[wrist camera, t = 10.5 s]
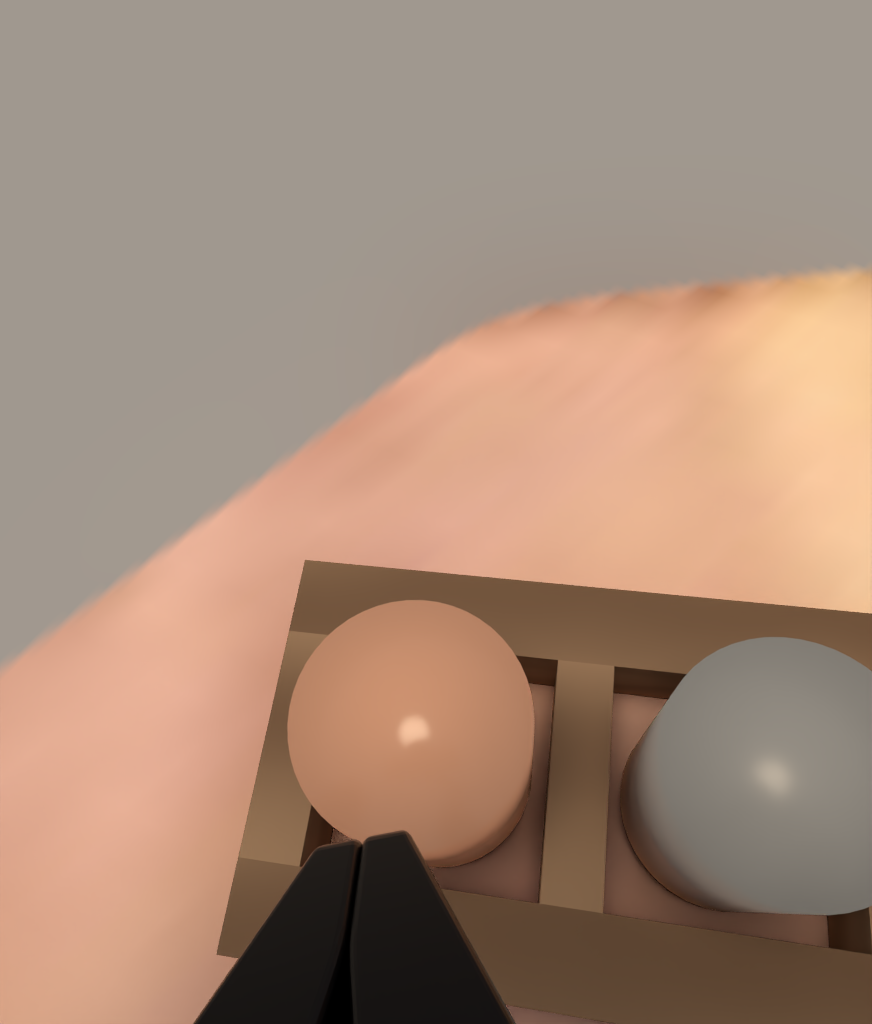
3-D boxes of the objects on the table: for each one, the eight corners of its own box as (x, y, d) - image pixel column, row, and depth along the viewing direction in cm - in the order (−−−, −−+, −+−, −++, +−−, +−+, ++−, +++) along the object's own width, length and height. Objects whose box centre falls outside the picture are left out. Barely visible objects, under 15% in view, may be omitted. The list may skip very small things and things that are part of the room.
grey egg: (841, 763, 19) (968, 706, 13) (782, 952, 17) (898, 974, 12) (661, 679, 20) (711, 597, 15) (590, 849, 18) (617, 826, 13)
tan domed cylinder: (561, 728, 20) (575, 663, 14) (481, 904, 18) (462, 904, 13) (405, 650, 21) (364, 563, 16) (318, 809, 19) (240, 773, 14)
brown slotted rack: (1255, 1120, 16) (1374, 1155, 14) (252, 948, 19) (216, 954, 17) (1149, 676, 20) (1228, 647, 18) (326, 593, 23) (305, 560, 21)
